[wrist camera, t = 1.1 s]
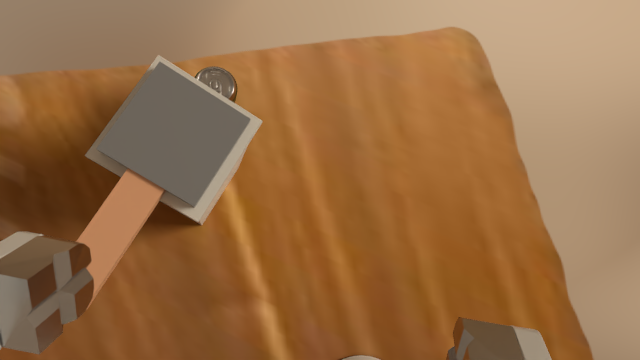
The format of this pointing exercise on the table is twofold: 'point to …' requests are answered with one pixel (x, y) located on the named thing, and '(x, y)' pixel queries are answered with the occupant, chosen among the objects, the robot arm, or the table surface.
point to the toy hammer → (159, 160)
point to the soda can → (219, 81)
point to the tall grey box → (221, 177)
